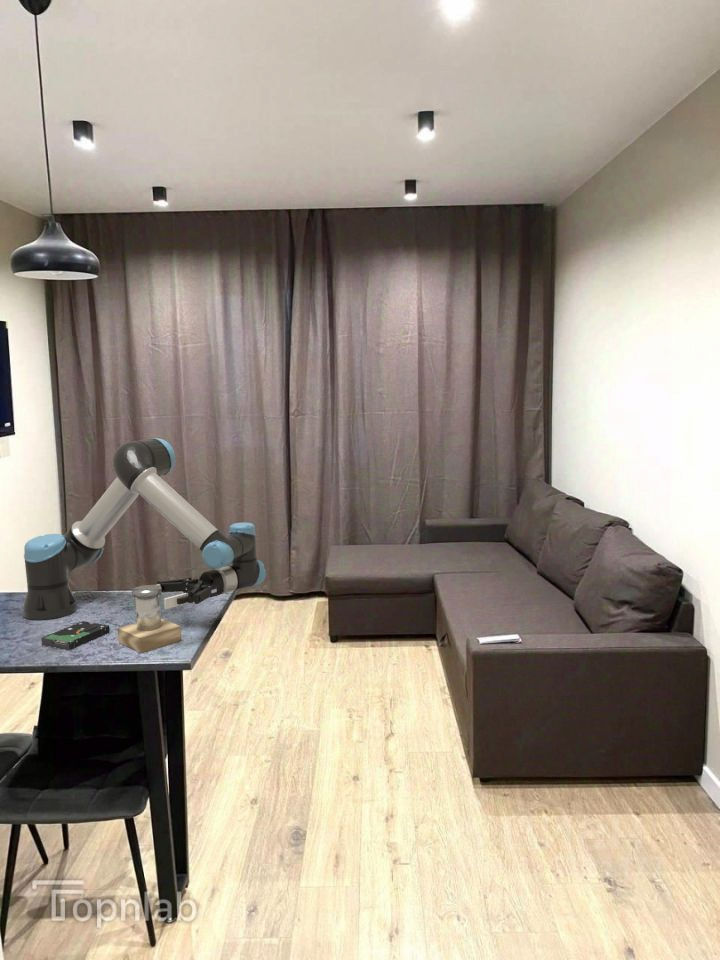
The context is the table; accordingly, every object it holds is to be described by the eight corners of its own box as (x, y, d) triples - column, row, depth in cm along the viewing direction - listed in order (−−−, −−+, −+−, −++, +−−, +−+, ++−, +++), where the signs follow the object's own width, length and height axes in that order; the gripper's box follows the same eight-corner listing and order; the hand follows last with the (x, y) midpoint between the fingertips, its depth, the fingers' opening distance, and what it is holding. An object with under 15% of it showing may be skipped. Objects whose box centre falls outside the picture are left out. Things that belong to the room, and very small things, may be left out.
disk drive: (83, 630, 206) (41, 647, 193) (82, 620, 206) (40, 637, 192) (110, 634, 202) (69, 652, 188) (110, 624, 201) (68, 641, 188)
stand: (118, 642, 194) (117, 627, 193) (158, 630, 202) (157, 616, 202) (141, 653, 185) (140, 638, 185) (181, 640, 194) (180, 626, 193)
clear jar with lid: (129, 627, 193) (126, 589, 192) (154, 620, 199) (151, 583, 197) (144, 633, 188) (141, 594, 187) (169, 626, 194) (166, 588, 192)
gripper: (244, 602, 199) (177, 622, 184) (194, 586, 217) (129, 603, 202) (243, 576, 198) (175, 594, 183) (193, 562, 216) (127, 577, 201)
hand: (151, 598), depth 193 cm, fingers open, 13 cm apart
